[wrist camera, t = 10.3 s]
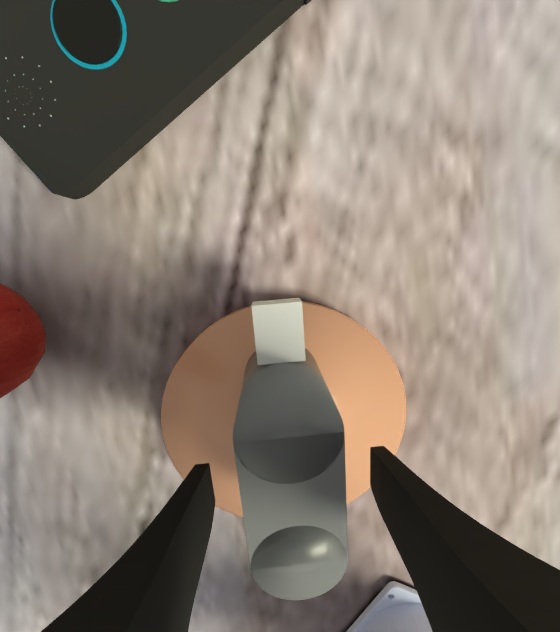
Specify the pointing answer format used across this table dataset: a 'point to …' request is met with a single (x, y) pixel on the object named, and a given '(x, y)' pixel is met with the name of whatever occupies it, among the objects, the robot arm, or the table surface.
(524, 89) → the table surface
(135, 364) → the table surface
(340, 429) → the connector
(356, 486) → the plate
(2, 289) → the onion
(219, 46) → the smart home device
